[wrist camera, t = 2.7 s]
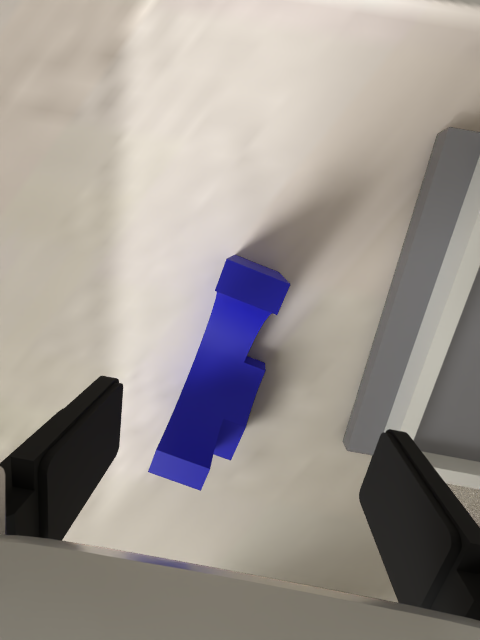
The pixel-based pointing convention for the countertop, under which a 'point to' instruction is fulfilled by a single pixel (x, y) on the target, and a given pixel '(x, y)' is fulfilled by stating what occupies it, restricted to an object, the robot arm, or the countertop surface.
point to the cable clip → (220, 375)
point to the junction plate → (432, 324)
